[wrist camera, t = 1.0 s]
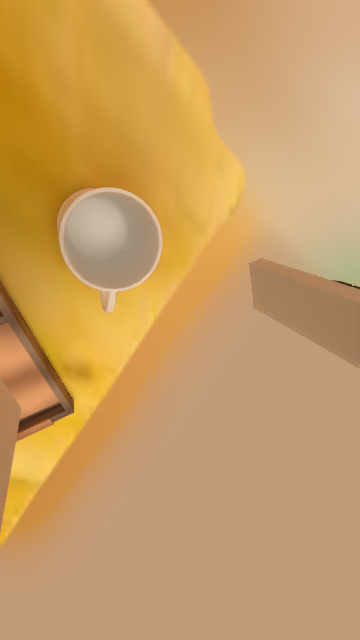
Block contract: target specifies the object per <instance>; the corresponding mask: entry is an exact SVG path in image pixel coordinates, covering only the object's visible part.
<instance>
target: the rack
mask: <svg viewBox="0 0 360 640" xmlns="http://www.w3.org/2000/svg"><path fill="white" fill-rule="evenodd" d="M0 379H1V380H2V382H3V383H4V385H5V386H6V387H7V389H8V390H9V391H10V393H11V394H12V396H13V397H14V398H15V400H16V401H17V402H18V404H19V405H20V406H21V408H22V409H21V415H20V421H19V427H18V432H17V438H16V442H17V441H19V440H21V439H23V438H25V437H27V436H29V435H32V434H34V433H36V432H38V431H40V430H42V429H44V428H46V427H49V426H51V425H53V424H54V422H55V421H57V420H59V419H61V418H63V417H65V416H67V415H69V414H72V413H74V402H73V399H72V397H71V396H70V394H69V392H68V391H67V389H66V387H65V386H64V384H63V383H62V381H61V379H60V378H59V376H58V374H57V373H56V371H55V369H54V368H53V366H52V365H51V363H50V361H49V360H48V358H47V356H46V355H45V353H44V352H43V350H42V348H41V347H40V345H39V343H38V342H37V340H36V339H35V337H34V335H33V334H32V332H31V330H30V329H29V327H28V326H27V324H26V322H25V321H24V319H23V317H22V316H21V314H20V313H19V311H18V309H17V308H16V306H15V304H14V303H13V301H12V299H11V298H10V296H9V295H8V293H7V291H6V290H5V288H4V286H3V285H2V283H1V282H0Z"/></svg>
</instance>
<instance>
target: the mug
mask: <svg viewBox="0 0 360 640" xmlns="http://www.w3.org/2000/svg"><path fill="white" fill-rule="evenodd" d="M57 231H58V235H59V245H60V250H61V253H62V256H63V259H64V261H65V263H66V265H67V266H68V268H69V269H70V271H71V272H72V273H73V274H74V275H75V276H76V277H77V278H78V279H79V280H80V281H82V282H83V283H85V284H86V285H88V286H90V287H92V288H94V289H97V290H100V298H101V303H102V307H103V310H104V311H105V312H106V313H111V312H113V310H114V308H115V303H116V292H120V291H125V290H129V289H132V288H134V287H136V286H138V285H139V284H141V283H142V282H144V281H145V280H146V279H147V278H148V277H149V276H150V275H151V274H152V272H153V271H154V269H155V268H156V266H157V264H158V262H159V259H160V256H161V251H162V233H161V228H160V225H159V222H158V220H157V218H156V216H155V214H154V213H153V211H152V210H151V208H150V207H149V206H148V205H147V204H146V203H145V202H144V201H143V200H142V199H141V198H139V197H138V196H136V195H135V194H133V193H131V192H129V191H126V190H123V189H119V188H112V187H104V188H87V189H82V190H79V191H77V192H75V193H73V194H72V195H70V196H69V197H68V198H67V199H66V200H65V201H64V203H63V204H62V206H61V208H60V210H59V213H58V217H57Z"/></svg>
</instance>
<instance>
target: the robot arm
mask: <svg viewBox="0 0 360 640" xmlns="http://www.w3.org/2000/svg"><path fill="white" fill-rule="evenodd" d="M249 265H250V274H251V282H252V292H253V301H254V308H255V309H257V310H259V311H261V312H262V313H264V314H266V315H267V316H269V317H271V318H273V319H275V320H276V321H278V322H280V323H281V324H283V325H285V326H287V327H288V328H290V329H292V330H294V331H295V332H297V333H299V334H300V335H302V336H304V337H306V338H307V339H309V340H311V341H313V342H314V343H316V344H318V345H320V346H321V347H323V348H325V349H326V350H328V351H330V352H332V353H333V354H335V355H337V356H339V357H340V358H342V359H344V360H346V361H347V362H349V363H351V364H352V365H354V366H356V367H358V368H360V287H357V286H352V285H351V284H348V283H345V282H341V281H333V280H328V279H325V278H322V277H318V276H316V275H312V274H309V273H306V272H302V271H300V270H296V269H293V268H290V267H287V266H284V265H280V264H277V263H274V262H271V261H268V260H264V259H259V260H256V261H254V262H251V263H249ZM21 409H22V408H21V406H20V405H19V404H18V402H17V401H16V400H15V398H14V397H13V396H12V394H11V393H10V391H9V390H8V389H7V387H6V386H5V385H4V383H3V382H2V380H1V379H0V531H1V525H2V519H3V513H4V507H5V502H6V496H7V490H8V484H9V479H10V473H11V467H12V461H13V455H14V450H15V444H16V438H17V432H18V427H19V421H20V415H21Z"/></svg>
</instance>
